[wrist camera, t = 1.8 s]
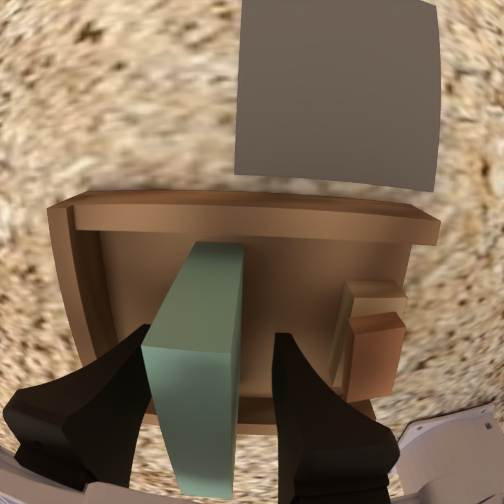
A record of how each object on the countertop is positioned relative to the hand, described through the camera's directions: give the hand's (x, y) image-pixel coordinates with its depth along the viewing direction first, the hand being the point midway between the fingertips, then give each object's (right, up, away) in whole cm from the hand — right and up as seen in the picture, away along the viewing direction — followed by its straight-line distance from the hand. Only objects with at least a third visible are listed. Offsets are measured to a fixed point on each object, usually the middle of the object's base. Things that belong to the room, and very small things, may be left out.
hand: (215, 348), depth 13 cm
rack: (+1, +1, +3) cm, 3 cm away
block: (0, +1, +2) cm, 2 cm away
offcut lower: (+7, 0, +2) cm, 7 cm away
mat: (+5, +11, -2) cm, 13 cm away
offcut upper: (+7, 0, 0) cm, 7 cm away
